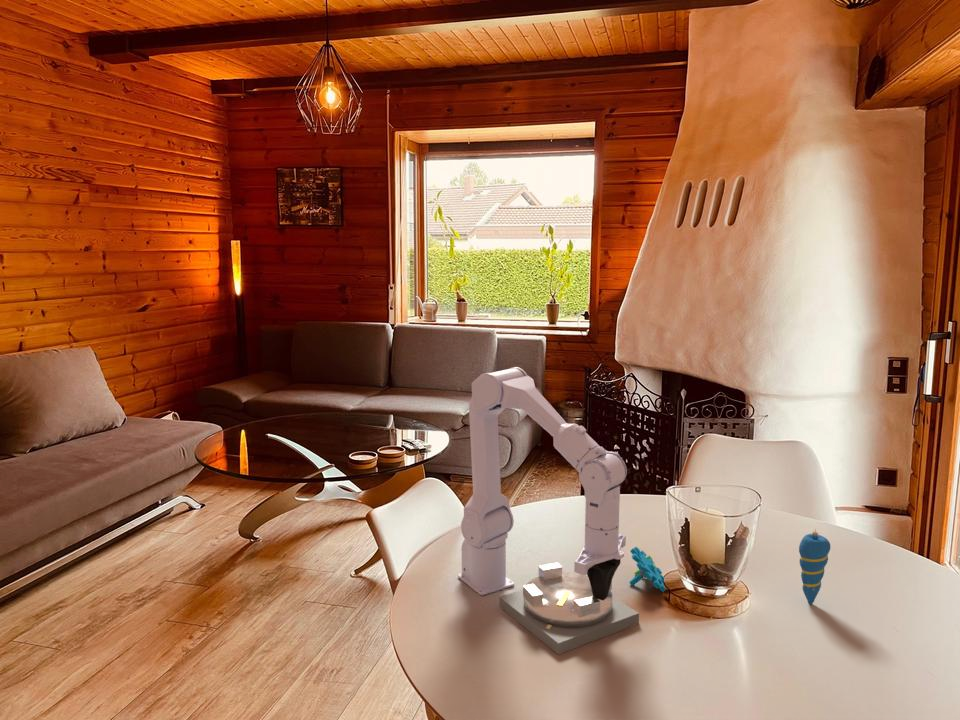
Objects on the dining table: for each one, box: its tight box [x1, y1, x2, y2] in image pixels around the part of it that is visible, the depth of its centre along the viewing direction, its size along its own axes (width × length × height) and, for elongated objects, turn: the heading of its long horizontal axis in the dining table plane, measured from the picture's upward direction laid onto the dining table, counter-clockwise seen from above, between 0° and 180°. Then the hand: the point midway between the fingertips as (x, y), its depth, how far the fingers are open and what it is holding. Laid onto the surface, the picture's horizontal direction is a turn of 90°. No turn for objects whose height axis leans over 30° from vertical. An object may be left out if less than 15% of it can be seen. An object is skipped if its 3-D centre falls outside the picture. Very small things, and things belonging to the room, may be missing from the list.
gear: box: [629, 546, 666, 593], centre depth 136 cm, size 11×6×10 cm
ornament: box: [798, 528, 831, 605], centre depth 127 cm, size 5×5×15 cm
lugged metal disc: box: [522, 562, 613, 627], centre depth 125 cm, size 16×16×4 cm
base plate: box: [498, 589, 640, 655], centre depth 125 cm, size 18×18×2 cm
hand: (599, 597), depth 120 cm, fingers closed
